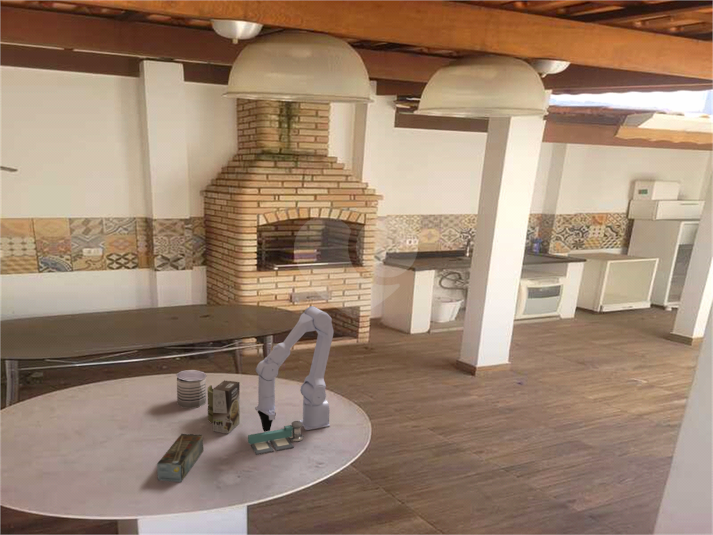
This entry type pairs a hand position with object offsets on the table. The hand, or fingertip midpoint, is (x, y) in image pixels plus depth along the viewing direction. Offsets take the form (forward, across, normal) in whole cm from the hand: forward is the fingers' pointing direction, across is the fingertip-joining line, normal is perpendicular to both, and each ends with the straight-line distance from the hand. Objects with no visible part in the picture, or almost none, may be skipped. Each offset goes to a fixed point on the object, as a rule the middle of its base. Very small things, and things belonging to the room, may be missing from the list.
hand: (266, 430), depth 197 cm
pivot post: (+2, +6, +9) cm, 11 cm away
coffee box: (+2, -10, -12) cm, 16 cm away
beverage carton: (+2, +10, -30) cm, 32 cm away
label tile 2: (+2, +7, +3) cm, 8 cm away
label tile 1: (+2, +7, -4) cm, 9 cm away
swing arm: (0, +6, +1) cm, 7 cm away
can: (+2, -37, -20) cm, 42 cm away
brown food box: (+2, -18, -11) cm, 22 cm away
